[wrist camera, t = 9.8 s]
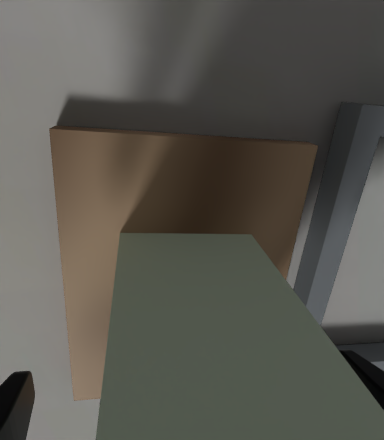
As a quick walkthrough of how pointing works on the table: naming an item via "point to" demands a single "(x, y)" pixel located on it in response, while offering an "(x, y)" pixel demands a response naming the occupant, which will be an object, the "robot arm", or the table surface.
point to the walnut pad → (161, 211)
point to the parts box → (221, 350)
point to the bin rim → (339, 212)
